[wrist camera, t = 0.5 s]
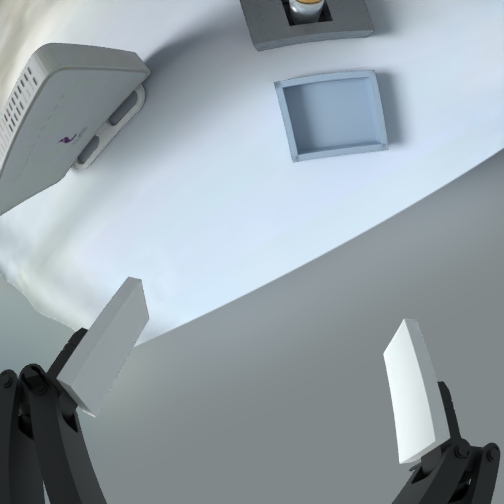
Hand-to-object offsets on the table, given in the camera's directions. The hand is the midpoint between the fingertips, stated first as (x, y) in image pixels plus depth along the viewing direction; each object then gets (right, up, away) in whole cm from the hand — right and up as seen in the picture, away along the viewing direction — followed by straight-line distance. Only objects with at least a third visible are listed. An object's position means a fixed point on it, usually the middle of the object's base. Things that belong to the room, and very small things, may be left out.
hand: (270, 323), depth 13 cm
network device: (-25, +24, +22) cm, 41 cm away
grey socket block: (+6, +33, +11) cm, 35 cm away
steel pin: (+6, +33, +11) cm, 35 cm away
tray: (+9, +21, +18) cm, 28 cm away
